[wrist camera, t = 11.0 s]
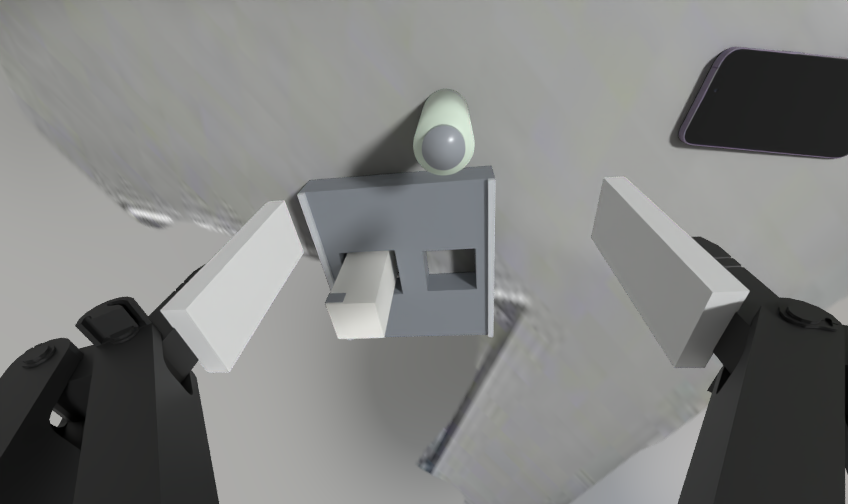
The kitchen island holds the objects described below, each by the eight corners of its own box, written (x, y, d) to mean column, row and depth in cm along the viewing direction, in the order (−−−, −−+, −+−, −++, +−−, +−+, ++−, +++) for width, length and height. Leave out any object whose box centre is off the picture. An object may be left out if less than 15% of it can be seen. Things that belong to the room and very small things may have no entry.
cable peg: (420, 91, 28) (408, 119, 21) (467, 86, 28) (474, 113, 20) (425, 139, 31) (416, 181, 23) (469, 135, 30) (475, 176, 22)
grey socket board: (309, 180, 34) (296, 194, 31) (491, 165, 32) (495, 179, 29) (354, 320, 45) (348, 340, 42) (490, 316, 43) (493, 336, 40)
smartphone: (846, 160, 29) (677, 144, 29) (834, 156, 30) (670, 140, 30) (926, 65, 25) (729, 45, 25) (908, 63, 26) (719, 44, 25)
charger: (351, 242, 38) (324, 304, 30) (391, 239, 37) (374, 302, 29) (360, 274, 40) (337, 339, 32) (397, 272, 40) (384, 338, 32)
